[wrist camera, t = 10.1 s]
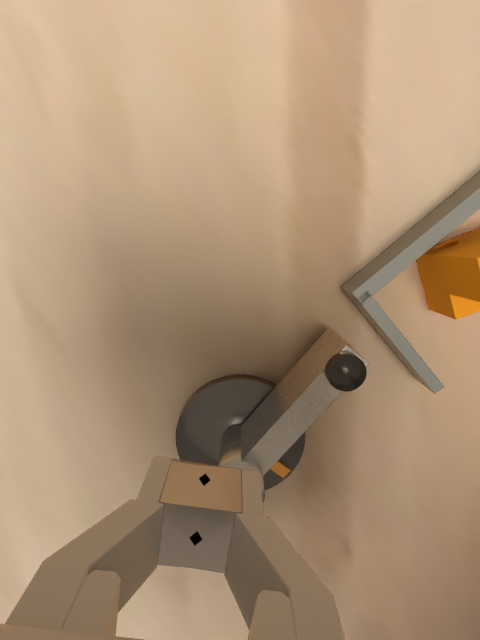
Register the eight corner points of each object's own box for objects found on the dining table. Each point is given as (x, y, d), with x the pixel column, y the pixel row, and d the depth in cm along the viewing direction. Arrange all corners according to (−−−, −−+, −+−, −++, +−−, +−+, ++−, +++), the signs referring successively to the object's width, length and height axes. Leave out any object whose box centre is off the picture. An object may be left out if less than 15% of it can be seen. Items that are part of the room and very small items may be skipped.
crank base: (327, 437, 26) (331, 446, 25) (235, 506, 28) (235, 517, 27) (245, 349, 24) (245, 355, 23) (152, 428, 26) (148, 437, 25)
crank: (243, 465, 26) (244, 523, 20) (213, 444, 25) (205, 498, 20) (352, 346, 23) (385, 377, 18) (320, 321, 23) (345, 345, 17)
